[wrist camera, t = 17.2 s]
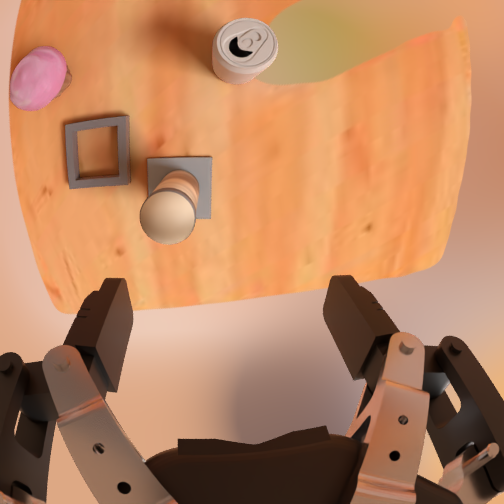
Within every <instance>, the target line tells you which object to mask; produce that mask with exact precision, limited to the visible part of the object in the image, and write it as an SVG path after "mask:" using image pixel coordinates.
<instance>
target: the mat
mask: <svg viewBox="0 0 504 504" xmlns="http://www.w3.org/2000/svg"><path fill="white" fill-rule="evenodd" d="M147 168H148V192H149V195H150V194H152V193H153V191H154V190H155V189H156V187H157V186H158V185H159V183H160V182H161V181H162V180H163V178H164V177H165V176H166V175H167V174H168V173H170V172H172V171H175V170H185V171H188V172H190V173H192V174H193V175H194V176H195V177H196V179H197V180H198V183H199V187H200V191H199V197H198V203H197V209H196V219H211V180H212V157H172V158H148V159H147Z"/></svg>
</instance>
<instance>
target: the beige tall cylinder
mask: <svg viewBox="0 0 504 504" xmlns="http://www.w3.org/2000/svg"><path fill="white" fill-rule="evenodd" d="M199 191H200V187H199V183H198V180H197V179H196V177H195V176H194V175H193V174H192V173H190V172H188V171H185V170H175V171H172V172H170V173H168V174H167V175H166V176H165V177H164V178H163V180H162V181H161V182H160V183H159V185H158V186H157V187H156V189H155V190H154V191H153V193H152V194H150V195H149V196H148V198H147V199H146V200H145V202H144V203H143V205H142V207H141V210H140V223H141V226H142V229H143V230H144V232H145V233H146V234H147V236H148V237H150V238H151V239H152V240H154V241H156V242H158V243H161V244H168V245H169V244H176V243H179V242H181V241H183V240H185V239H186V238H187V237H188V236H189V235H190V234H191V232H192V231H193V228H194V226H195V221H196V209H197V203H198V197H199Z"/></svg>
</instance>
